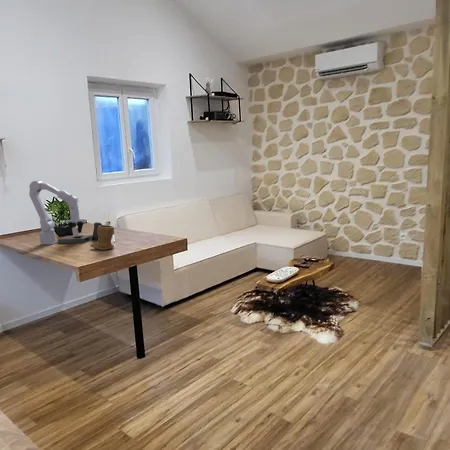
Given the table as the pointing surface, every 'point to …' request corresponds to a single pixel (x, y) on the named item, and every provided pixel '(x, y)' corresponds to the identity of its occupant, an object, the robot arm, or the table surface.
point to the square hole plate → (75, 239)
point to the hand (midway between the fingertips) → (77, 232)
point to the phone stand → (95, 232)
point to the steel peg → (76, 231)
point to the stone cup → (104, 237)
